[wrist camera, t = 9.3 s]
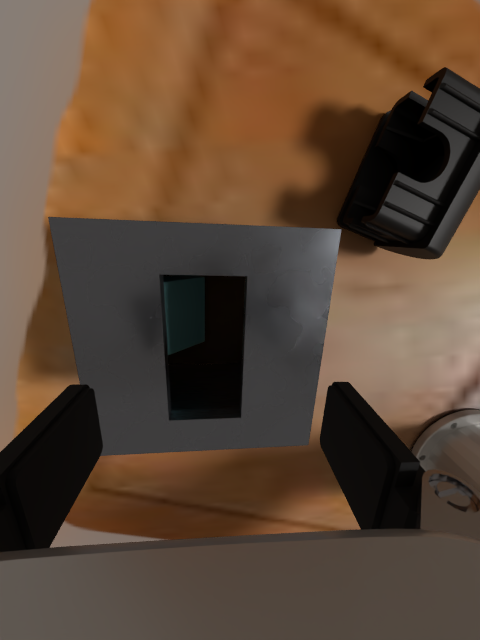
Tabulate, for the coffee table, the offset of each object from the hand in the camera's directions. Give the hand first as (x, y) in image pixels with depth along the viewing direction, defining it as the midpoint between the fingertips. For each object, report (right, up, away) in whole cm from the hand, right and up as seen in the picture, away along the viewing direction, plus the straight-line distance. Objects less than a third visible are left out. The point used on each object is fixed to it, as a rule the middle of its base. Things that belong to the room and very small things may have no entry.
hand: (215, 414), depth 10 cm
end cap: (+14, +15, +12) cm, 24 cm away
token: (-5, +1, +12) cm, 13 cm away
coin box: (-2, +5, +14) cm, 15 cm away
